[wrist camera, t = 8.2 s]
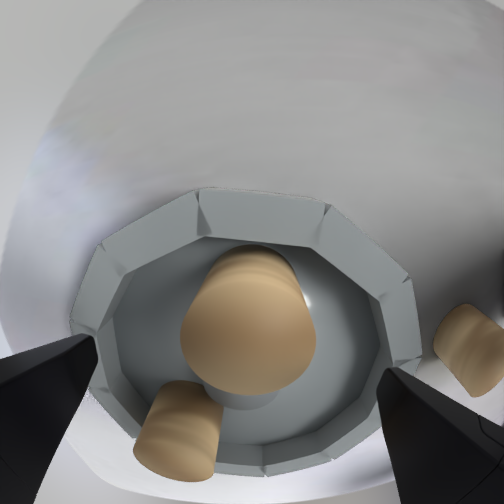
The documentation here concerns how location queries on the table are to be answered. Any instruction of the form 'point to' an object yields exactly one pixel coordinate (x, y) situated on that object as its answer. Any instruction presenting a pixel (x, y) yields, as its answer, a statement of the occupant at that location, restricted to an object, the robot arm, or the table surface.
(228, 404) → the tray
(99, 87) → the table surface
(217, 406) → the tan short rounded cylinder
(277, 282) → the bead
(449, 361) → the bead
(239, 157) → the table surface
